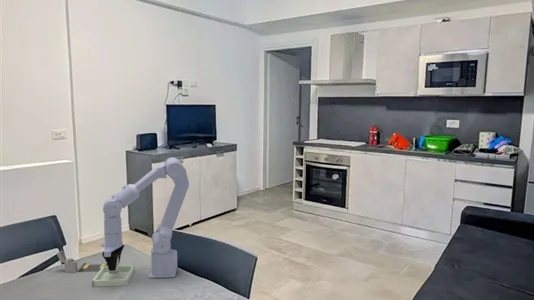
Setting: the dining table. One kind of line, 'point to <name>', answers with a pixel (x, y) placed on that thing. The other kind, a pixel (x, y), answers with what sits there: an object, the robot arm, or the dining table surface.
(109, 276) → the tray
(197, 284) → the dining table surface
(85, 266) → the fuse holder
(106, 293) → the dining table surface
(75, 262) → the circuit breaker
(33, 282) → the dining table surface
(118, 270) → the fuse
